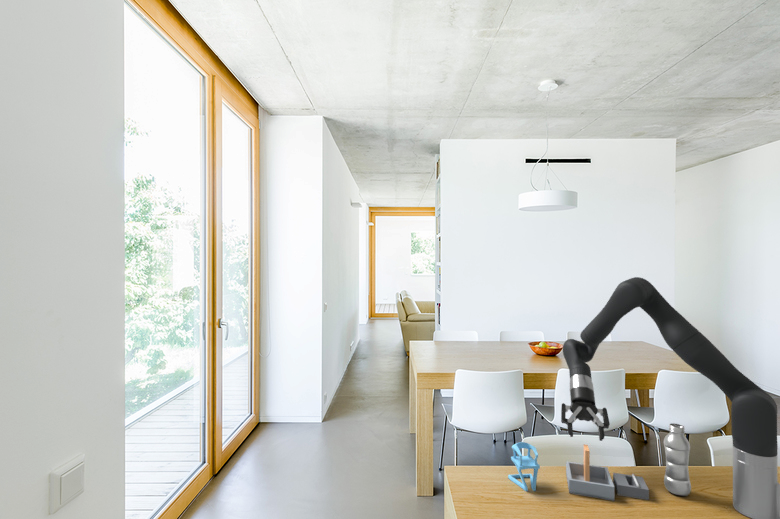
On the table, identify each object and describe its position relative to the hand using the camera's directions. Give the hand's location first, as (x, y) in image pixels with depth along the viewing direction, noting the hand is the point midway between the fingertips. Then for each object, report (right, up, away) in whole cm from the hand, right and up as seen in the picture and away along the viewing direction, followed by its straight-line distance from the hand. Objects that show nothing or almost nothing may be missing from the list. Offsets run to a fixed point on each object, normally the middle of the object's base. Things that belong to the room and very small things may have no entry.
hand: (586, 437), depth 130 cm
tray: (-2, -13, -5) cm, 14 cm away
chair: (-21, -13, -4) cm, 25 cm away
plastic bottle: (+23, -13, -9) cm, 28 cm away
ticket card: (-1, -12, -2) cm, 12 cm away
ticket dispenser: (+10, -13, -8) cm, 18 cm away
